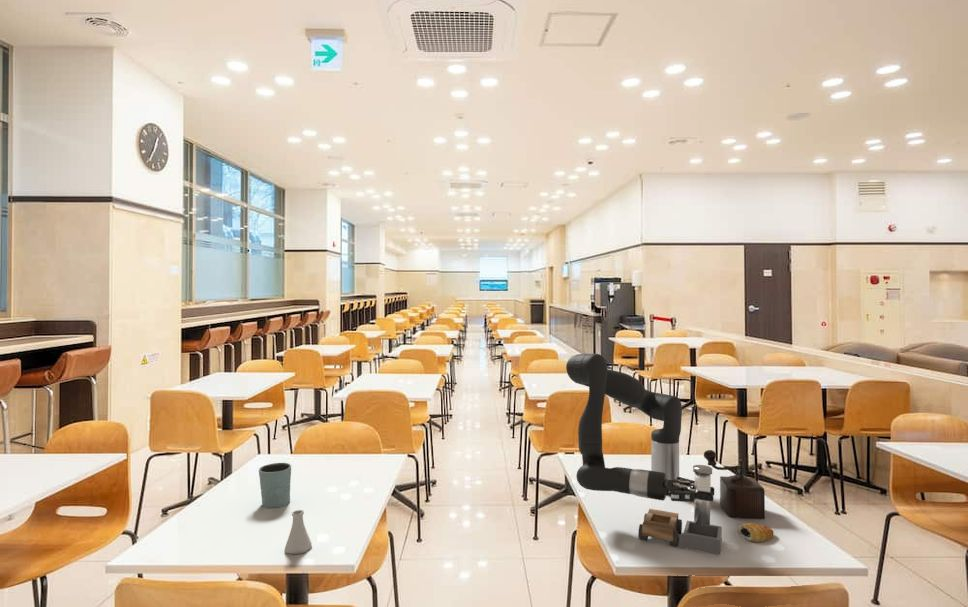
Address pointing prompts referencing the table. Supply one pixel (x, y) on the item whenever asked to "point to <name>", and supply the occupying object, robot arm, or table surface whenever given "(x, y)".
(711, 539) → the tray
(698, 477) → the pin
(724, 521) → the table surface
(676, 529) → the trolley
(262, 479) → the grey cup
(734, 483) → the manual coffee grinder
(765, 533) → the pastry
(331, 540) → the table surface
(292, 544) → the flask
